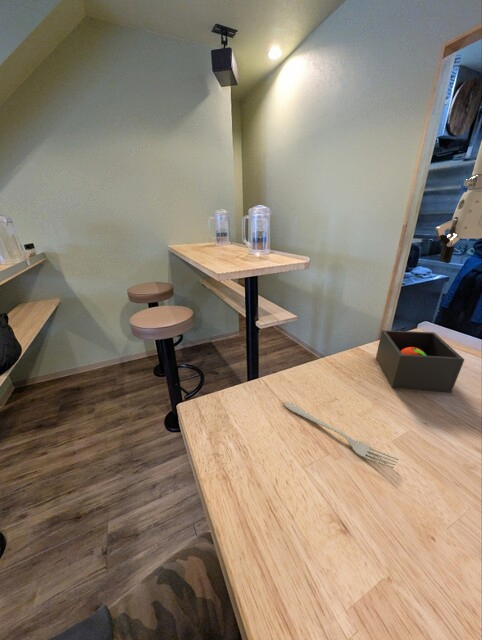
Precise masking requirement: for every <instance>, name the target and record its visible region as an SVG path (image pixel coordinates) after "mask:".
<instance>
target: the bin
mask: <svg viewBox="0 0 482 640" xmlns="http://www.w3.org/2000/svg"><path fill="white" fill-rule="evenodd" d="M408 347H415V348H418V349H420V350H422V351H423V352H424V353H425V354H426V355H427V356H423V355H405V354H402V353H401V350H402V349H404V348H408ZM375 360H376V361H377V364H378V365H379V367H380V369H381V372H382V373H383V374H384V377H385V378H386V380H387V381H388V383H389V385H390V387H391V389H402V390H413V391H426V392H438V393H439V392H440V393H452V392H453V390H454V387H455V385H456V382H457V380H458V377H459V375H460V373H461V370H462V368H463V364H464V362H465V358H464V357H463V356H461V355H460V354H459V353H458V352H457V351H456V350H455V349H454V348H452V347H451V346H450V345H449V344H448V343H447V342H445V340H444V339H442V338H441V337H440V336H439V335H438V334H437V333H436V332H433V331H413V330H412V331H410V330H409V331H408V330H388V329H387V330H385V329H382V330H381V333H380V338H379V342H378V347H377V351H376V355H375Z"/></svg>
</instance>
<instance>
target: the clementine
mask: <svg viewBox="0 0 482 640" xmlns="http://www.w3.org/2000/svg"><path fill="white" fill-rule="evenodd" d="M401 353H402V354H405V355H423V356H427V355H426V354H425V353H424V352H423V351H422V350H420V349H418V348H415V347H408V348H404V349H402V350H401Z"/></svg>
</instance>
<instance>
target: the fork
mask: <svg viewBox="0 0 482 640" xmlns="http://www.w3.org/2000/svg"><path fill="white" fill-rule="evenodd" d="M283 405H284V406H285V408H286V409H288V410H289V411H291V412H293V413H295V414H297V415H299V416H301V417H302V418H305V419H306V420H309V421H311V422H314V423H315V424H318V425H320V426H322V427H324V428H326V429H329V430H331V431H333V432H335V433H336V434H339V436H342V437H343V438H344V439H345V440H346V441H347V442H348V444H349V445H350V447H351V449H352V450H353V451H354V453H355V454H357V455H358V456H359V457H362V458H364V459H366V460H369V461H371V462H374V463H376V464H379V465H383V466H385V467H388V468H392V469H394V468H395V466H396V464H397V463H398V461H399V458H397V457H394V456H392V455H390V454H387V453H385V452H382V451H380V450H377V449H375V448H374V447H372V446H370V445H368V444H366V443H363V442H361V441H358V440H356V439H353V438H351V437H350V436H348V435H347V434H345V433H344V432H342V430H341V431H340V430H339V429H337V428H335V427H333V426H331V425H329V424H328V423H326V422H324V421H322V420H321V419H320V418H317V417H316V416H313V415H312V414H310V413H308V412H307V411H305V410H304V409H302V408H301V407H299V406H297V405H295V404H293V403H291V402H288V401H287V402H284V404H283Z"/></svg>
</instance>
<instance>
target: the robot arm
mask: <svg viewBox="0 0 482 640" xmlns="http://www.w3.org/2000/svg"><path fill="white" fill-rule="evenodd" d="M462 184H463V187H467V191H465V192H463V194H462V196H461V197H460V199H459V201H458V203H457V206H456V208H455V211H454V213H453V216H452V219H451V220H449V221H447V222H444V223H442V224H440V225H438V226H436V227H435V228H434V231H435V235H436V239H437V240H438V241H439V243H440V245H441V246H442V248H441V251H440V256H439V261H440V262H441V263H444V264H450V263H451V261H452V257H453V254H454V252H455V246H454V245H455V244H456V243H457V242H458V241H459V240H460V239H463V240H464V239H466V240H468V239H482V141H481V142H480V145H479V149H478V152H477V156H476V159H475V163H474V166H473V170H472V173H471V176H470V177H469V179H465V180H464V181H463V183H462ZM447 230H448V235H446V231H447Z"/></svg>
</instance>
